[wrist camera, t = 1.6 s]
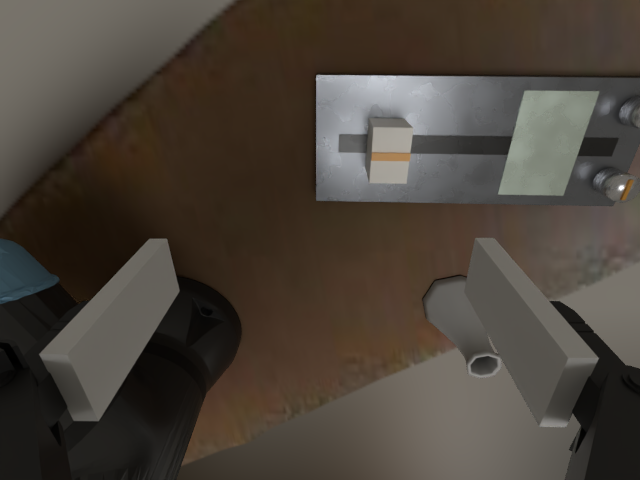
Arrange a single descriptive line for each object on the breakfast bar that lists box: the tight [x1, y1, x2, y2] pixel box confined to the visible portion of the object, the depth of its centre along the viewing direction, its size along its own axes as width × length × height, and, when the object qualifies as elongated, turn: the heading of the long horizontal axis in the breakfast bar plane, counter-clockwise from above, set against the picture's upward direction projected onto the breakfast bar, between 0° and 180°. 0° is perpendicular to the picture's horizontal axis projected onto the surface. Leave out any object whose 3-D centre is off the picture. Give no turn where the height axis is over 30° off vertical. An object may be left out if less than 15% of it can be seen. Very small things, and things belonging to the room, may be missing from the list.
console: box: [316, 73, 640, 206], centre depth 31 cm, size 28×11×5 cm, turn 90°
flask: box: [423, 276, 502, 378], centre depth 38 cm, size 7×7×10 cm
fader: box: [365, 118, 413, 184], centre depth 30 cm, size 3×4×4 cm
